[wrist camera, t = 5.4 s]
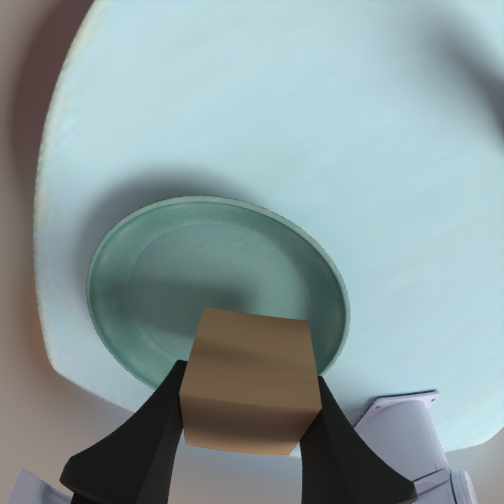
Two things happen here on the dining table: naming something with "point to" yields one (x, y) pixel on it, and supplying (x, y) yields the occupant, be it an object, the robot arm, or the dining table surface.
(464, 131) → the dining table surface
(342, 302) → the saucer
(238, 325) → the walnut block
